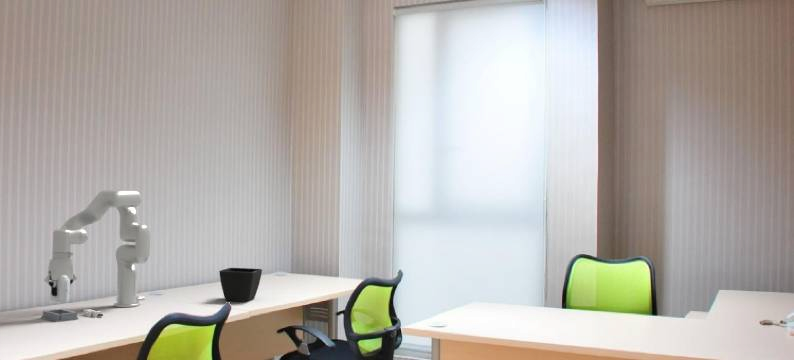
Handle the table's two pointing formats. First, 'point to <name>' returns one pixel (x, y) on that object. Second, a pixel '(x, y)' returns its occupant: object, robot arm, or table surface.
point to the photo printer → (62, 290)
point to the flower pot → (240, 283)
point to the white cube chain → (93, 313)
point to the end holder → (59, 315)
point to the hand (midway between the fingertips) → (60, 294)
